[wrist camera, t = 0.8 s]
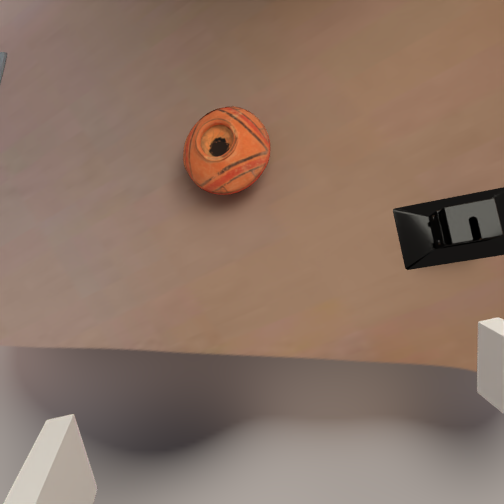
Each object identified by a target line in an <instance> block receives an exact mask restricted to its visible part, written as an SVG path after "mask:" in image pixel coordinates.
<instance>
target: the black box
mask: <svg viewBox="0 0 504 504" xmlns="http://www.w3.org/2000/svg"><path fill="white" fill-rule="evenodd" d="M393 213H394V218H395V223H396V227H397V232H398V236H399V241H400V246H401V250H402V255H403V259H404V264H405V268H406V269H407V270H410V269H416V268H422V267H429V266H435V265H441V264H448V263H454V262H460V261H467V260H473V259H479V258H486V257H492V256H498V255H504V187H503V188H498V189H493V190H488V191H483V192H478V193H472V194H467V195H462V196H457V197H452V198H447V199H441V200H436V201H431V202H426V203H421V204H416V205H410V206H405V207H400V208H395V209H393Z"/></svg>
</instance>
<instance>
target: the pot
mask: <svg viewBox="0 0 504 504" xmlns="http://www.w3.org/2000/svg"><path fill="white" fill-rule="evenodd" d="M269 156H270V140H269V136H268V134H267V131H266V129H265V127H264V125H263V124H262V123H261V121H260V120H259V119H258V118H257V117H256V116H255V115H253V114H252V113H250V112H249V111H247V110H244V109H242V108H238V107H225V108H219V109H216V110H213V111H211V112H209V113H207V114H206V115H205V116H203V117H202V118H201V119H200V120H199V121H198V122H197V123H196V124H195V126H194V127H193V128H192V130H191V131H190V133H189V135H188V137H187V139H186V142H185V146H184V154H183V160H184V166H185V169H186V171H187V172H188V174H189V176H190V177H191V179H192V180H193V181H194V182H195V183H196V184H197V185H198V186H199V187H200V188H202V189H203V190H205V191H207V192H209V193H213V194H221V195H226V194H233V193H237V192H239V191H242V190H244V189H245V188H247V187H249V186H250V185H252V184H253V183H254V182H255V181H256V180H257V179H258V178H259V177H260V175H261V174H262V172H263V171H264V169H265V167H266V166H267V163H268V161H269Z"/></svg>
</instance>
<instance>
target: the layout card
mask: <svg viewBox="0 0 504 504" xmlns="http://www.w3.org/2000/svg"><path fill="white" fill-rule="evenodd" d="M6 57H7V53H5V52H0V83H1V78H2V74H3V70H4V65H5V61H6Z"/></svg>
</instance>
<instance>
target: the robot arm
mask: <svg viewBox="0 0 504 504" xmlns="http://www.w3.org/2000/svg"><path fill="white" fill-rule="evenodd" d="M477 392H478V393H479V394H480V395H481V396H482V397H484V398H485V399H486V400H487V401H489V402H490V403H491V404H492V405H493V406H495V407H496V408H497V409H498V410H500V411H501V412H502V413H503V414H504V320H503V319H501V318H499V317H497V318H493V319H489V320H484V321H480V322H478V363H477ZM96 492H97V485H96V482H95V478H94V475H93V472H92V469H91V466H90V463H89V460H88V456H87V453H86V450H85V447H84V444H83V441H82V438H81V435H80V431H79V429H78V425H77V422H76V419H75V416H74V414H71V415H66V416H62V417H58V418H53V419H49V420H46V422H45V424H44V426H43V428H42V430H41V432H40V434H39V436H38V438H37V439H36V441H35V443H34V445H33V447H32V449H31V451H30V453H29V455H28V457H27V459H26V461H25V462H24V464H23V466H22V468H21V470H20V472H19V474H18V476H17V478H16V480H15V482H14V484H13V486H12V487H11V489H10V491H9V493H8V495H7V497H6V499H5V501H4V503H3V504H93V503H94V500H95V496H96Z"/></svg>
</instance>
